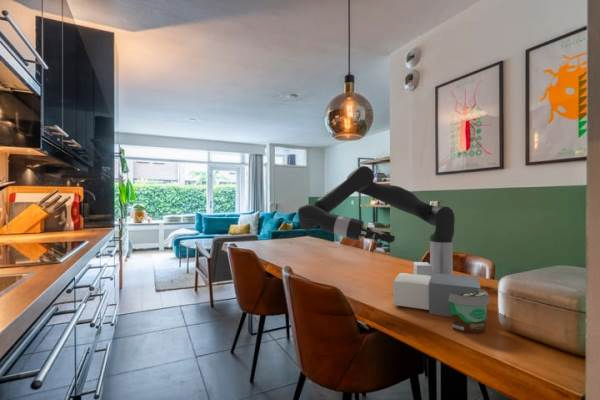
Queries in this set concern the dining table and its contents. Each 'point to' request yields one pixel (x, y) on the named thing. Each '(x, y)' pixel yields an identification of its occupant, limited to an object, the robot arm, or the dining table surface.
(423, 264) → the small box
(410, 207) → the robot arm
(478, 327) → the food container
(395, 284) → the white cuboid
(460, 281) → the sleeve
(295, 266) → the dining table surface
